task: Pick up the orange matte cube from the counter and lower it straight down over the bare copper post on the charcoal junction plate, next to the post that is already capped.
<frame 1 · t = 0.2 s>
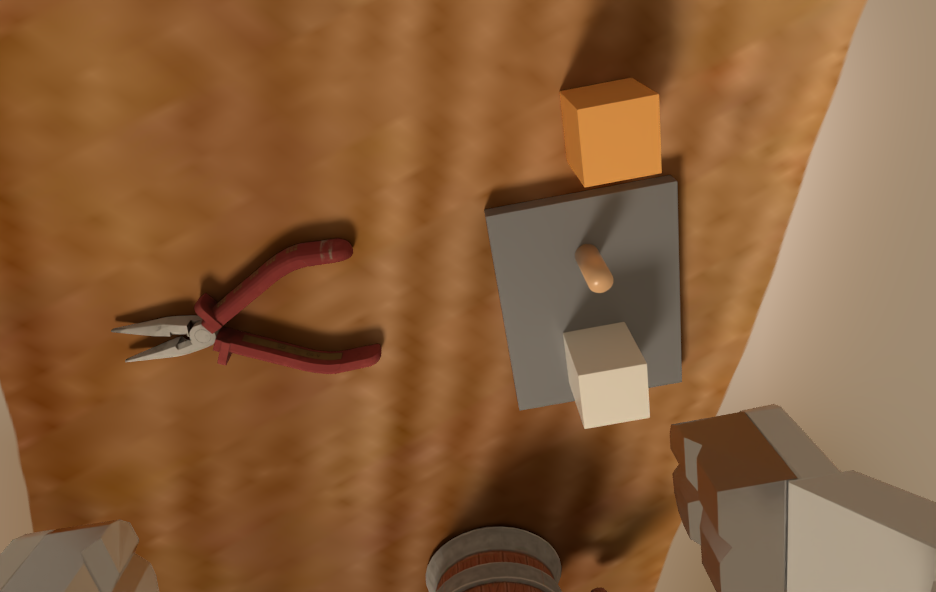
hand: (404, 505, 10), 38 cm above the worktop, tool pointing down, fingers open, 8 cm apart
orange matte cube: (598, 120, 45), on the worktop
junction plate: (587, 296, 52), on the worktop
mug: (517, 569, 67), on the worktop
pliers: (255, 297, 51), on the worktop
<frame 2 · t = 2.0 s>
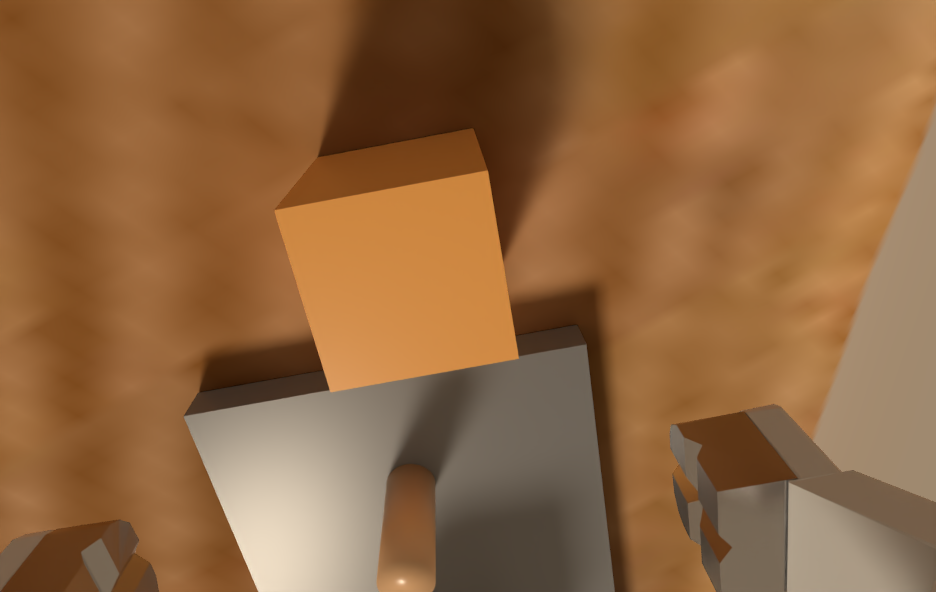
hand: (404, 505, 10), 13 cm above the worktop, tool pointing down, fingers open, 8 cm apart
orange matte cube: (411, 218, 21), on the worktop
junction plate: (434, 544, 27), on the worktop
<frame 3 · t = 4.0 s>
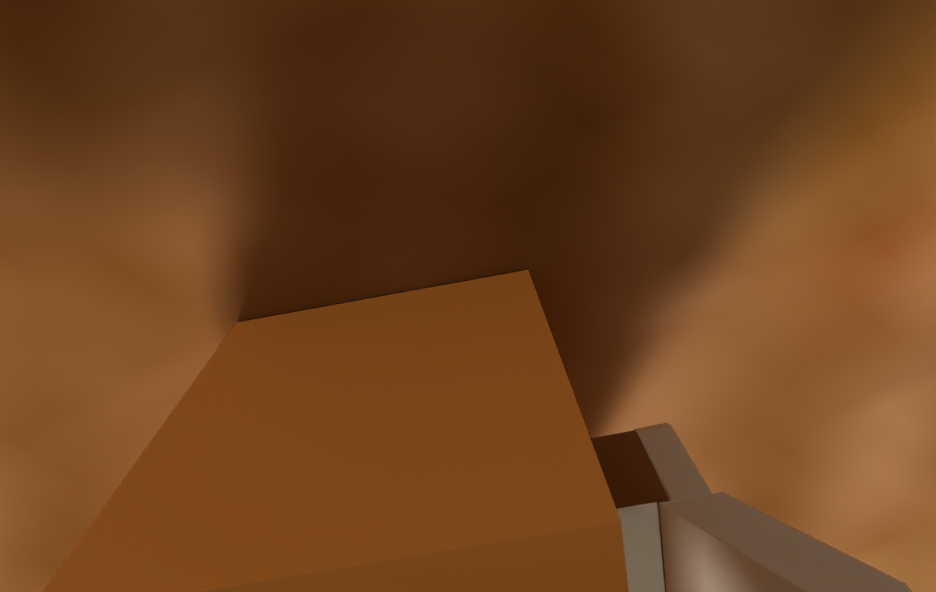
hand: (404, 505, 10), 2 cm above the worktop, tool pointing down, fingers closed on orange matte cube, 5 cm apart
orange matte cube: (412, 421, 12), on the worktop, touching gripper
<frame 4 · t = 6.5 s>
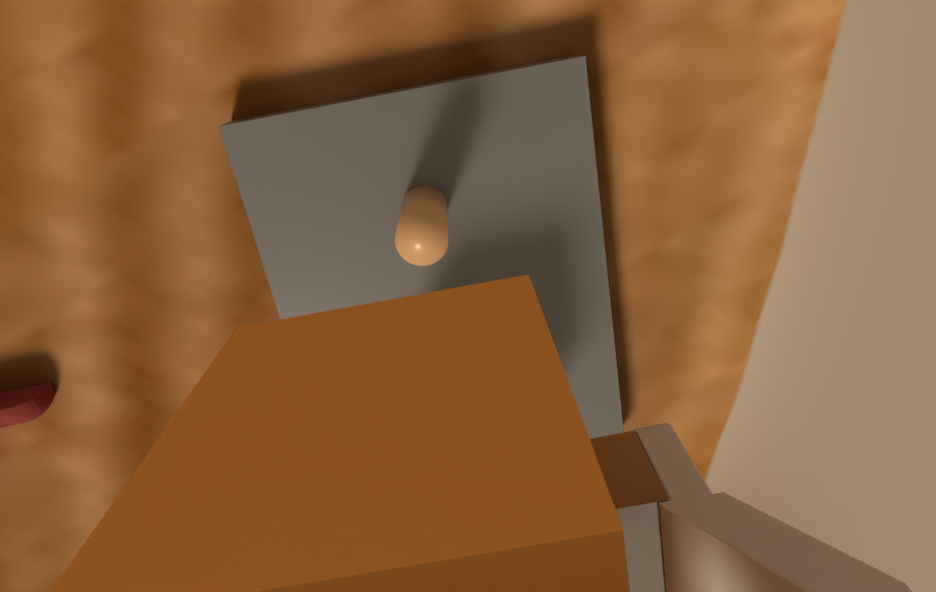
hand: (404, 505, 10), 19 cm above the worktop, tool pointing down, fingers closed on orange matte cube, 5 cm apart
orange matte cube: (412, 425, 12), point 17 cm above the worktop, touching gripper
junction plate: (445, 294, 29), on the worktop
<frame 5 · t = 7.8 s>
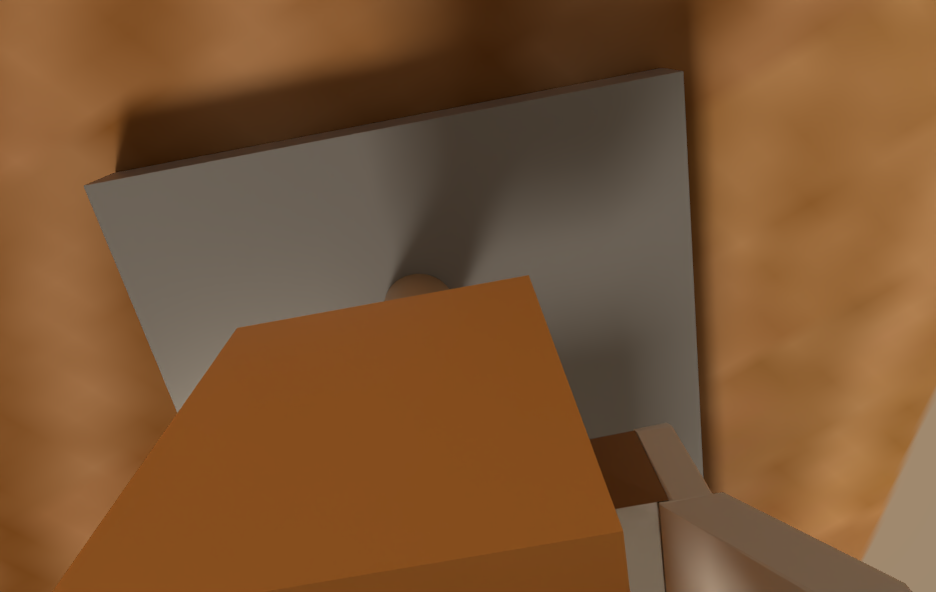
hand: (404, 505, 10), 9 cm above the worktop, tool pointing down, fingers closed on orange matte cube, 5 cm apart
orange matte cube: (412, 426, 12), point 7 cm above the worktop, touching gripper
junction plate: (451, 421, 20), on the worktop
when the fingers open (5 cm above the worktop, at t = 9.0 s): orange matte cube drops 1 cm, resting on junction plate.
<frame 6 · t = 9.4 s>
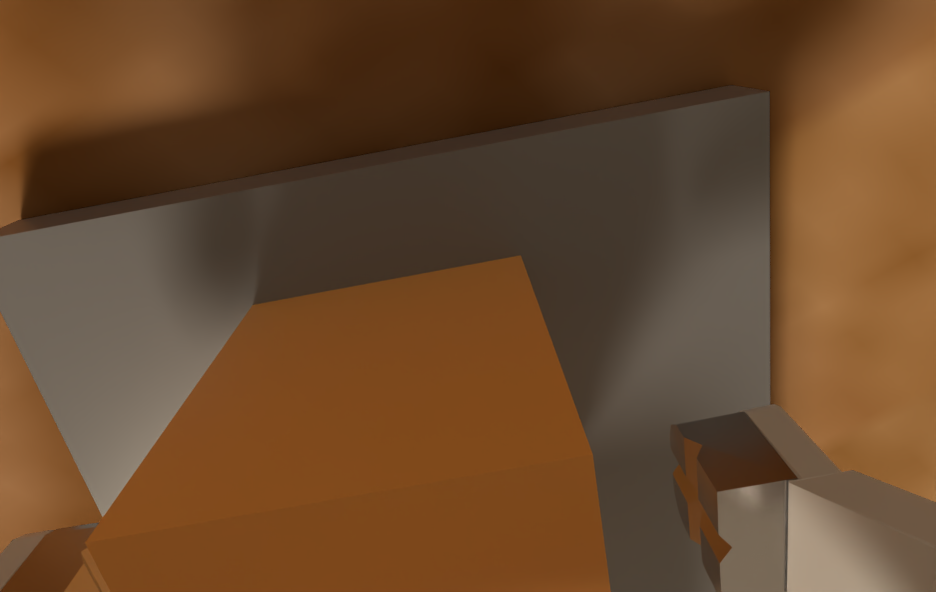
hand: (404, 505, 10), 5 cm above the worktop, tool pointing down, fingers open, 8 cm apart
orange matte cube: (414, 396, 13), point 1 cm above the worktop, touching junction plate
junction plate: (455, 519, 16), on the worktop
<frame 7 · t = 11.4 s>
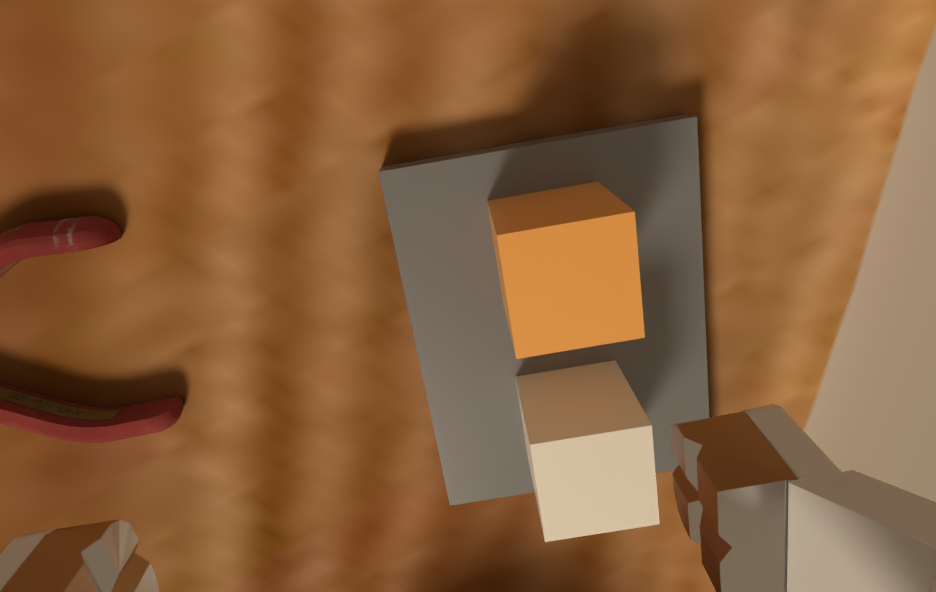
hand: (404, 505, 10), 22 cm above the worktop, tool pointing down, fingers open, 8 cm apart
orange matte cube: (549, 244, 30), point 1 cm above the worktop, touching junction plate
junction plate: (555, 319, 32), on the worktop
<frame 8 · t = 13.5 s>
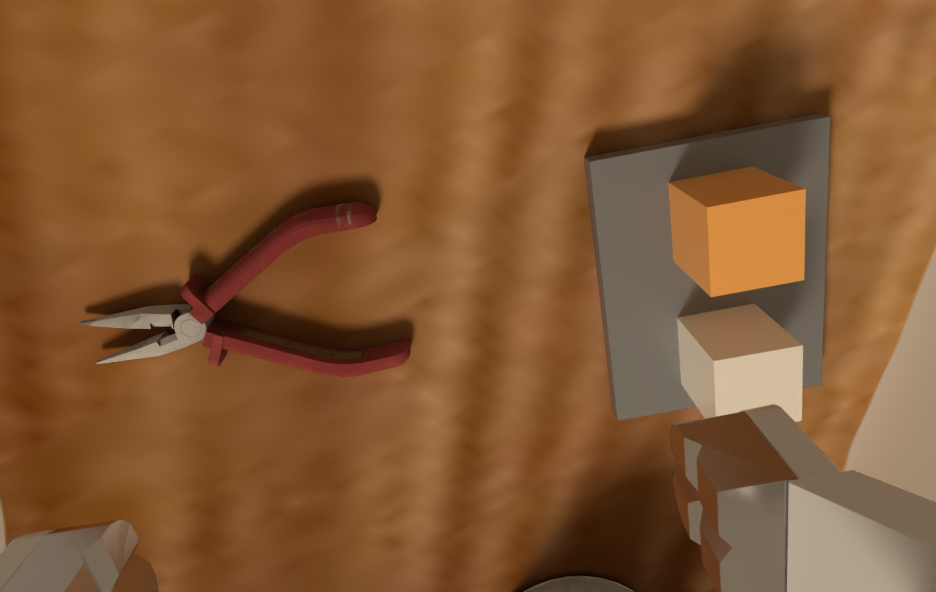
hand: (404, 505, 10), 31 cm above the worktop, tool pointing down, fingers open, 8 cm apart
orange matte cube: (711, 214, 39), point 1 cm above the worktop, touching junction plate
junction plate: (705, 273, 42), on the worktop
pliers: (257, 281, 42), on the worktop
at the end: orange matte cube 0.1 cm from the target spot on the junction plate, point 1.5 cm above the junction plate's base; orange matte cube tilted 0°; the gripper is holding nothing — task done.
